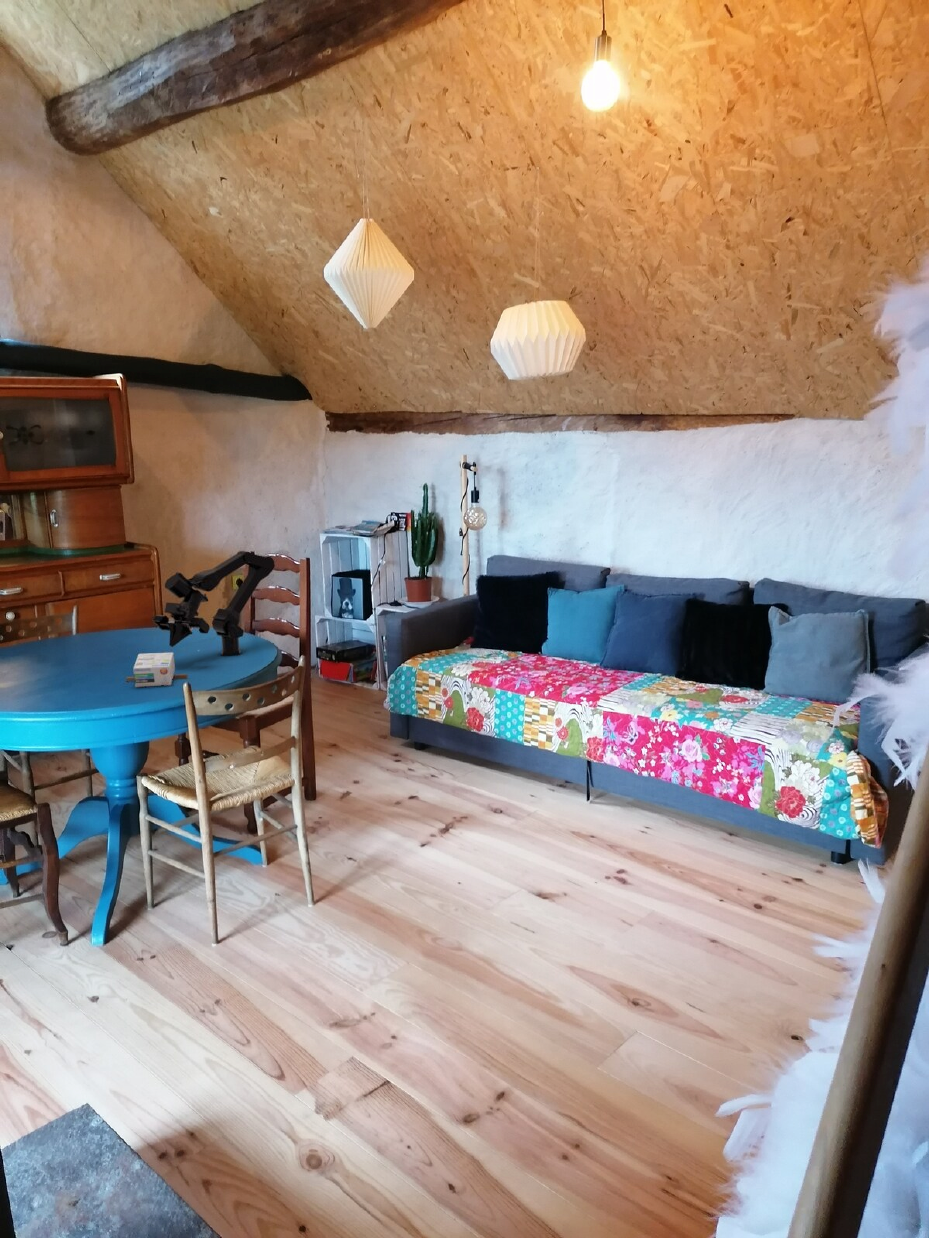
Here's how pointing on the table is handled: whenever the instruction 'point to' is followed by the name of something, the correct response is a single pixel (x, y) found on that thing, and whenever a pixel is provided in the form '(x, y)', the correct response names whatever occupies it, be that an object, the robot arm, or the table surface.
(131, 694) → the table surface
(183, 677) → the ledge strip
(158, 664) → the light bulb box
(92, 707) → the table surface
